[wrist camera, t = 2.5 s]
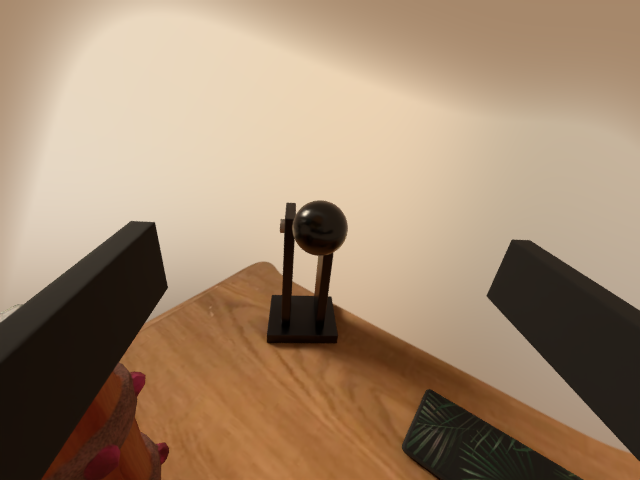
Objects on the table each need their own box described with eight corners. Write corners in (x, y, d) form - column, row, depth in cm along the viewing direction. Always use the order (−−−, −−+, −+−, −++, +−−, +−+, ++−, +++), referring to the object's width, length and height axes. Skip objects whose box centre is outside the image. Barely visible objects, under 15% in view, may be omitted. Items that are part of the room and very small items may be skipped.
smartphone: (427, 386, 28) (635, 508, 20) (425, 392, 28) (628, 515, 21) (401, 446, 23) (665, 639, 15) (398, 453, 23) (654, 644, 16)
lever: (351, 259, 17) (354, 199, 17) (291, 257, 17) (294, 196, 16) (323, 244, 31) (325, 211, 31) (291, 243, 31) (292, 209, 31)
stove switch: (336, 343, 33) (355, 228, 26) (266, 342, 32) (267, 223, 25) (330, 303, 39) (344, 201, 32) (271, 301, 38) (273, 197, 31)
